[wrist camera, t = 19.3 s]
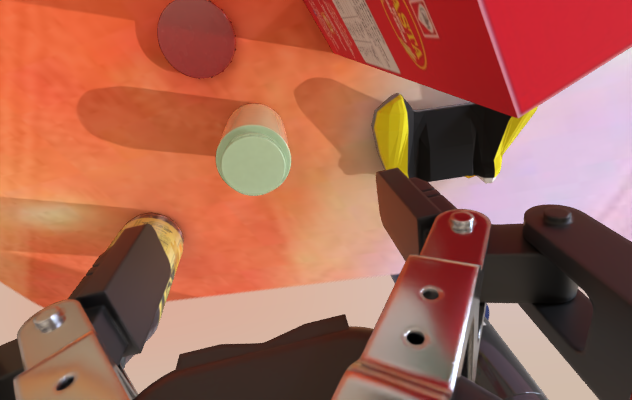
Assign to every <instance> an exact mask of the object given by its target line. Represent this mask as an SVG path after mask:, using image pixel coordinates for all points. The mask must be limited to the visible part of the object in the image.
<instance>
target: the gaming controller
mask: <svg viewBox="0 0 632 400" xmlns="http://www.w3.org/2000/svg"><path fill="white" fill-rule="evenodd" d="M537 107H538V106H537ZM537 107H536V108H534V109H532V110H531V111H529V112H528V113H526V114H524V115H523V116H521V117H520V118H515V117H512V116H509V115H507V114H504V113H501V112H498V111H495V110H492V109H490V108H487V107H484V106H481V105H478V104H476V103H473V102H471V103H466V104H459V105H452V106H445V107H437V108H430V109H423V110H412V108H411V106H410V105H409V104H408V103H407V102H406V100H405V99H404V98H403V97H402V95H401V94H399V93H396V94H394V95H392V96H390V97H389V98H388V99H387V100H386V101H385V102H384V103H382V104H381V105H380V106H379V107H378V108H377V109H376V110H375V111H374V115H373V120H372V125H371V126H372V130H373V135H374V139H375V143H376V148H377V152H378V154H379V157H380V159H381V161H382V164H383V166H384V168H385V170H388V169H393V168H399V169H400V170H401V171H402V172H403V173H404V174H405V175H406V176H407V177H408V178H413V177H416V178H419V179H421V180H424V181H427V182H431V181H437V180H444V179H450V178H457V177H463V176H465V177H467V178H471V177H474V176H478V177H479V178H480V179H481V180H482V181H484V182H485V183H492V182H493V181H494V180H495V178H496V176H497V175H498V174H499V173H500V169H501V163H502V155H503V154H504V152H505V151H506V150H507V148H508V147H509V146H510V145H511V143H512V142H513V141H514V139H515V138H516V137H517V135H518V134H519V133H520V131H521V130H522V129H523V127H524V126H525V125H526V123H527V122H528V121H529V119H530V118H531V117H532V116H533V114H534V113H535V112H536V110H537Z"/></svg>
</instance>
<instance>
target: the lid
mask: <svg viewBox="0 0 632 400" xmlns="http://www.w3.org/2000/svg"><path fill="white" fill-rule="evenodd" d="M231 23H232V22H231V21H229V19H228V17H227V16H226V15H225V13H224V12H223V10H222V9H220V8H218V7H217V6H216V5H214V4H213V3H211V1H207V0H175V1H173V2H172V3H170V4H169V5H168V6H167V7H166V8H165V9H164V11H163V12H162V14H161V16H160V19H159V22H158V28H157V36H158V42H159V45H160V48H161V50H162V52H163V54H164V56H165V58H166V59H167V60H168V62H169V63H170V64H171V65H172V66H173V67H174V68H175V69H177V70H178V71H180V72H181V73H183V74H185V75H187V76H190V77H194V78H199V79H200V78H209V77H211V78H212V77H213V76H215V75H217V74H219V73H220V72H223V71H224V69H225V68H226V67H227V66H228V65H229V63H231V62H232V58H233V55H234V52H235V50H236V49H235V45H236V40H235V37H236V35H235V33H234V30H233V27H232V25H231Z"/></svg>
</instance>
